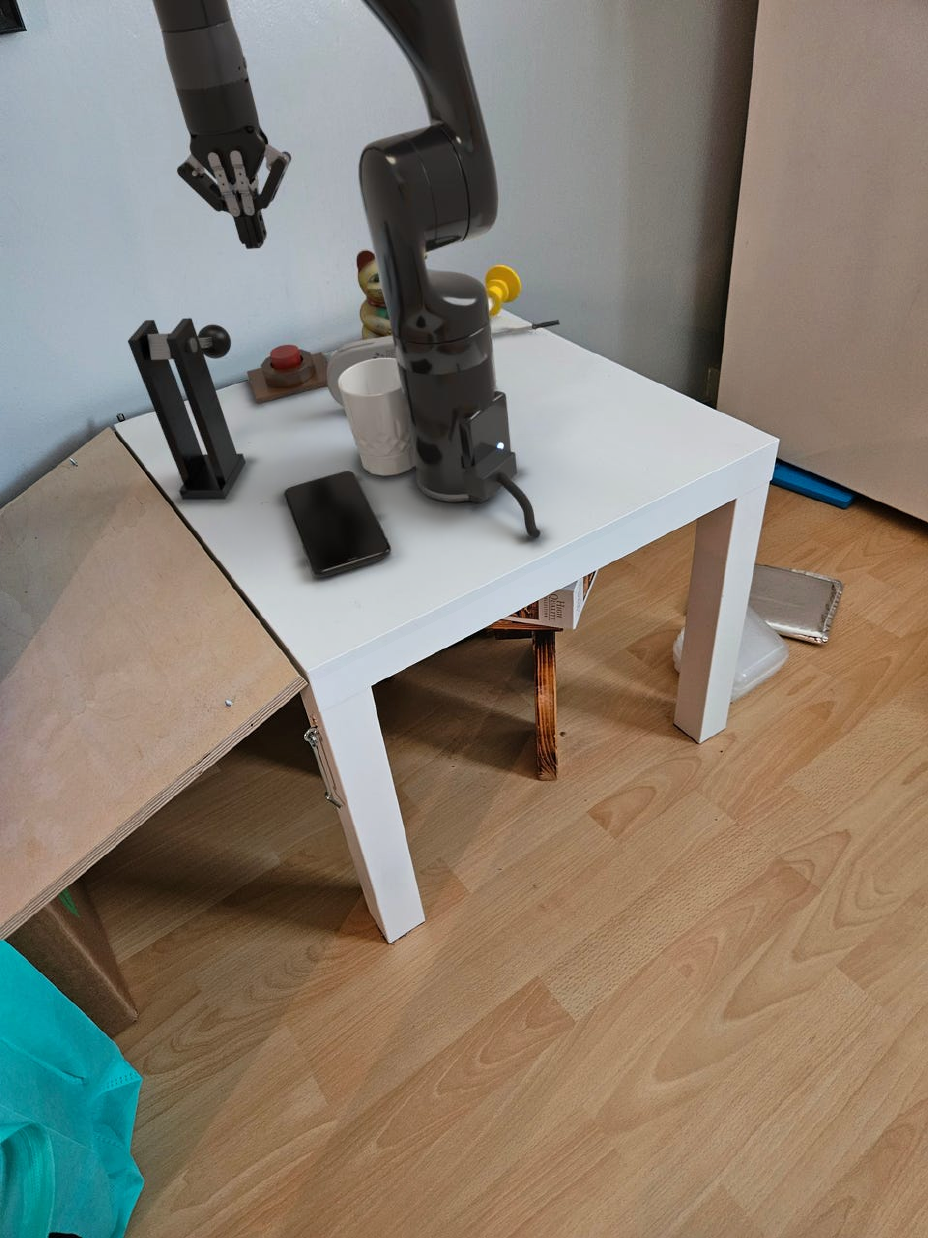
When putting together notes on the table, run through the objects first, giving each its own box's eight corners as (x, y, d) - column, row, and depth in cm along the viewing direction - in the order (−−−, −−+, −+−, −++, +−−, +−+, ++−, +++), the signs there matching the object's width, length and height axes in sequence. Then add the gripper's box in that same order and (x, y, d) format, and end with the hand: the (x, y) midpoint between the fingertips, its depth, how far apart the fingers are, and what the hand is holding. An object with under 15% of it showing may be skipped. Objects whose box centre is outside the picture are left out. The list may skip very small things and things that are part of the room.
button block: (322, 356, 120) (318, 338, 118) (336, 382, 114) (332, 364, 112) (248, 376, 118) (242, 358, 116) (258, 403, 112) (253, 385, 110)
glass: (439, 444, 101) (427, 361, 94) (407, 484, 96) (391, 399, 89) (378, 434, 104) (361, 353, 97) (343, 473, 99) (323, 390, 92)
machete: (456, 348, 118) (456, 345, 118) (454, 341, 119) (454, 338, 119) (560, 326, 119) (560, 323, 118) (557, 319, 119) (557, 316, 119)
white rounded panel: (335, 418, 107) (319, 353, 102) (334, 409, 109) (319, 344, 103) (497, 390, 108) (490, 324, 102) (494, 381, 109) (487, 316, 104)
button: (298, 354, 116) (295, 341, 115) (304, 366, 113) (300, 353, 112) (271, 361, 115) (267, 349, 114) (276, 373, 113) (272, 360, 112)
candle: (528, 285, 122) (482, 346, 113) (506, 307, 126) (459, 368, 117) (501, 256, 121) (451, 315, 112) (479, 280, 125) (429, 339, 116)
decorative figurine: (380, 378, 113) (356, 258, 103) (355, 354, 118) (331, 237, 108) (449, 355, 115) (433, 235, 105) (422, 332, 121) (404, 216, 111)
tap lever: (208, 358, 102) (204, 324, 101) (238, 356, 102) (234, 323, 101) (145, 366, 89) (139, 328, 88) (179, 365, 89) (173, 326, 87)
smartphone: (282, 495, 97) (315, 582, 85) (280, 488, 96) (313, 575, 85) (353, 474, 98) (395, 557, 87) (352, 467, 97) (393, 550, 86)
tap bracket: (200, 463, 103) (145, 314, 91) (250, 462, 102) (201, 311, 90) (177, 499, 99) (116, 347, 86) (229, 499, 97) (175, 344, 85)
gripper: (135, 91, 91) (190, 262, 103) (260, 79, 89) (301, 256, 101) (164, 71, 96) (213, 236, 108) (282, 59, 94) (319, 230, 106)
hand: (255, 245), depth 104 cm, fingers closed
